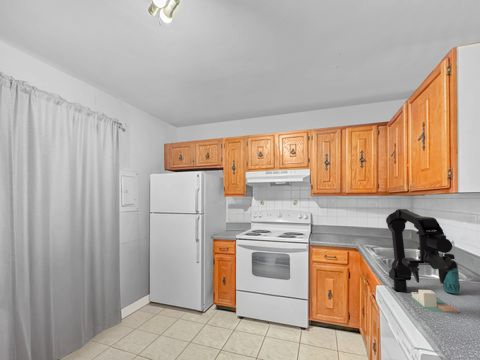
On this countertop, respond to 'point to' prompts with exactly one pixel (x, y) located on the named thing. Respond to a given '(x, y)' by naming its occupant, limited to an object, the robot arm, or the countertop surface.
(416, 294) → the spiral notebook
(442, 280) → the robot arm
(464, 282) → the countertop surface
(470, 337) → the countertop surface
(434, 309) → the mat
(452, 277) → the beverage bottle
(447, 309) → the coaster
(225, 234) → the countertop surface
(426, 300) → the stub
